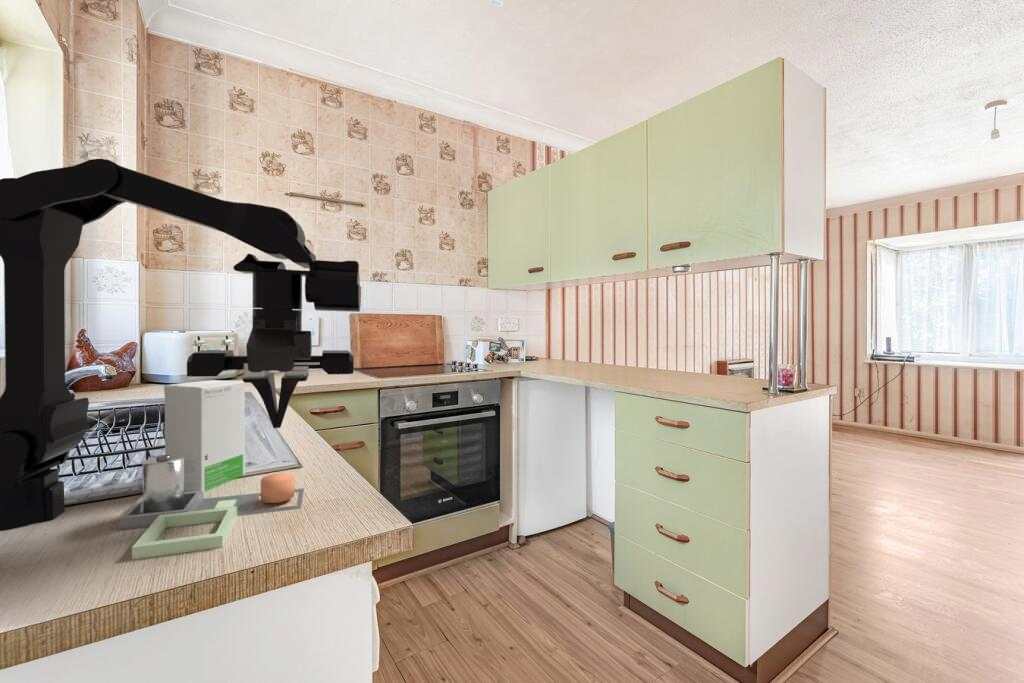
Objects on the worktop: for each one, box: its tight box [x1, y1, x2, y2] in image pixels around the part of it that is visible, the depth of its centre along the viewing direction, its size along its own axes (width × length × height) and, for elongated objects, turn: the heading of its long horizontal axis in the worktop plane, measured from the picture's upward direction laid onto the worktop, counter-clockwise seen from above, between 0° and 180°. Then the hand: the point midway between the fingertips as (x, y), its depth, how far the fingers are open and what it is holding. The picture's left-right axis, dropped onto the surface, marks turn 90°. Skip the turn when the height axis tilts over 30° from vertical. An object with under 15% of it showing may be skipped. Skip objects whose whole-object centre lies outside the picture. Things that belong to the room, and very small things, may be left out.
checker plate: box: [115, 488, 305, 531], centre depth 58 cm, size 19×7×2 cm, turn 112°
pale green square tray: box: [131, 506, 238, 561], centre depth 50 cm, size 8×8×2 cm
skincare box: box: [163, 379, 246, 493], centre depth 66 cm, size 8×7×16 cm
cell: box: [142, 454, 184, 514], centre depth 55 cm, size 4×4×7 cm
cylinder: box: [260, 472, 295, 504], centre depth 60 cm, size 4×4×2 cm
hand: (277, 427), depth 60 cm, fingers closed
